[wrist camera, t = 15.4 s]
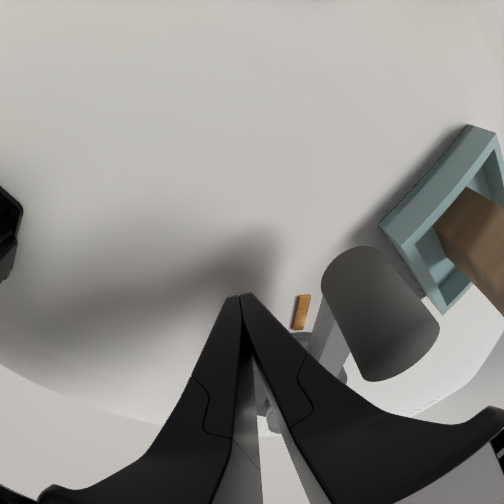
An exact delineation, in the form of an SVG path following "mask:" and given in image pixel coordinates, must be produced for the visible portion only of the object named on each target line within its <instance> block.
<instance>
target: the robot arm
mask: <svg viewBox="0 0 504 504" xmlns="http://www.w3.org/2000/svg"><path fill="white" fill-rule="evenodd" d="M15 210H16V211H17V213H16V211H15ZM22 216H23V207H22V205H21V204H20V203H19V202H18V201H17V200H16V199H14V198H13V197H12V196H11V195H10V194H9V193H8V192H6V191H5V190H4V189H3V188H2V187H1V186H0V283H1V282H2V281H3V280H5V279H6V278H7V277H8V276H9V273H10V271H11V270H12V267H13V262H14V257H15V253H16V248H17V244H18V243H17V234H18V230H19V226H20V223H21V219H22ZM252 355H253V357H252ZM253 358H254V361H255V364H256V367H257V370H258V373H259V375H260V378H261V381H262V384H263V386H264V389H265V392H266V394H267V397H268V400H269V402H270V405H271V408H272V410H273V413H274V416H275V418H276V421H277V423H278V426H279V429H280V431H281V434H282V436H283V438H284V441H285V444H286V446H287V449H288V451H289V454H290V456H291V459H292V461H293V464H294V466H295V469H296V471H297V473H298V476H299V478H300V481H301V483H302V485H303V488H304V490H305V492H306V495H307V497H308V499H309V501H310V504H504V410H503V409H500V408H497V407H493V406H488V407H486V408H485V409H483V410H482V411H481V412H479V413H478V414H477V415H475V416H474V417H473V418H471V419H470V420H468V421H466V422H464V423H460V424H454V425H447V424H439V423H434V422H428V421H423V420H418V419H413V418H408V417H403V416H399V415H395V414H391V413H388V412H386V411H383V410H381V409H379V408H378V407H376V406H374V405H373V404H371V403H370V402H369V401H367V400H366V399H364V398H363V397H362V396H360V395H359V394H357V393H356V392H355V391H353V390H352V389H351V388H349V387H348V386H347V385H345V384H344V383H342V382H341V381H340V380H339V379H337V378H336V377H335V376H334V375H332V374H331V373H330V372H329V371H328V370H327V369H325V368H324V367H323V366H322V365H321V364H320V363H319V362H318V361H317V360H316V359H315V358H314V357H313V356H312V355H311V354H310V353H308V351H307V350H306V349H305V348H304V347H303V346H302V345H301V344H300V343H299V342H298V341H297V340H296V339H295V338H294V336H293V335H292V334H291V333H290V332H289V331H288V330H287V329H286V328H285V327H284V326H283V325H282V324H281V323H280V322H279V321H278V320H277V319H276V318H275V317H274V315H273V314H272V313H271V312H270V311H269V310H268V309H267V308H266V307H265V306H264V305H263V304H262V303H261V302H260V301H259V300H258V298H257V297H256V296H255V295H254V294H253V293H251V292H249V293H245V294H241V295H240V297H239V296H238V295H235V296H230V297H227V298H226V300H225V302H224V304H223V306H222V308H221V311H220V313H219V315H218V317H217V319H216V322H215V324H214V326H213V328H212V330H211V333H210V335H209V337H208V339H207V341H206V343H205V346H204V348H203V350H202V352H201V354H200V357H199V359H198V361H197V363H196V365H195V368H194V370H193V372H192V374H191V376H192V377H190V378H189V381H188V383H187V385H186V387H185V389H184V391H183V393H182V395H181V397H180V399H179V401H178V403H177V405H176V406H175V408H174V410H173V411H172V413H171V415H170V416H169V418H168V419H167V421H166V423H165V424H164V426H163V427H162V429H161V431H160V432H159V434H158V436H157V437H156V439H155V440H154V442H153V443H152V445H151V446H150V448H149V449H148V450H147V451H146V453H145V454H144V455H143V456H141V457H140V458H139V459H138V460H136V461H135V462H133V463H132V464H130V465H128V466H127V467H125V468H123V469H122V470H120V471H118V472H116V473H115V474H113V475H111V476H109V477H107V478H106V479H104V480H102V481H100V482H98V483H96V484H94V485H92V486H90V487H88V488H84V489H80V490H72V489H68V488H65V487H62V486H59V485H55V484H52V485H51V486H49V487H48V488H46V489H45V490H44V491H42V492H41V494H40V495H39V496H38V498H37V501H36V500H34V499H31V498H29V497H26V496H24V495H22V494H20V493H17V492H15V491H13V490H11V489H9V488H7V487H5V486H3V485H1V484H0V504H263V496H262V484H261V472H260V471H261V470H260V456H259V443H258V428H257V414H256V399H255V384H254V369H253Z"/></svg>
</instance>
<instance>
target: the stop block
mask: <svg viewBox="0 0 504 504" xmlns="http://www.w3.org/2000/svg"><path fill="white" fill-rule="evenodd" d="M432 226H433V228H434V230H435V232H436V234H437V236H438V239H439V241H440V243H441V245H442V248H443V250H444V252H445V254H446V257H447V258H448V259H449V260H450V261H451V262H452V263H453V264H454V265H455V266H456V267H457V268H458V269H459V270H460V271H461V272H462V273H463V274H464V275H465V276H466V277H467V278H468V279H469V280H470V281H471V282H472V283H473V284H474V285H475V286H476V287H477V288H478V289H479V290H480V291H481V292H482V293H483V294H484V295H485V296H486V297H487V298H488V300H489V301H490V302H491V303H492V304H493V305H494V306H495V307H496V309H497V310H498V311H499V312H500V313H501V314H502V316H503V317H504V209H503V208H502V207H500V206H499V205H497V204H495V203H494V202H492V201H491V200H489V199H487V198H486V197H484V196H482V195H481V194H479V193H477V192H476V191H474V190H472V189H470V188H469V187H467V186H466V187H465V188H464V189H463V191H462V192H461V193H460V194H459V195H458V197H457V198H456V199H455V200H454V201H453V203H452V204H451V205H450V206H449V207H448V208H447V210H446V211H445V212H444V213H443V214H442V215H441V216H440V218H439V219H438V220H437V221H436V222H435V223H434V224H433V225H432Z"/></svg>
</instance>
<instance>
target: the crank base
mask: <svg viewBox="0 0 504 504" xmlns="http://www.w3.org/2000/svg"><path fill="white" fill-rule="evenodd" d="M310 299H311V296H310V295H301V296H299V301H298V306H297V311H296V315H295V320H294V325H293V331H294V330H303V328H304V324H305V320H306V316H307V312H308V308H309V303H310ZM291 334H292V335H293V336H294V338H295V339H296V340H297V341H298V342H299V343H300V344H301V345H302V346H303V347H304V348H305V349H306V350H307V347H308V343H309V340H310V337H311V334H312V333H307V332H302V333H291ZM252 357H253V355H252ZM253 369H254V384H255V399H256V414H257V415H259V416H265V417H266V412H265V407H264V402H265V400H266V399H267V398H268V397H267V394H266V392H265V389H264V386H263V384H262V381H261V378H260V375H259V373H258V370H257V367H256V364H255V361H254V358H253ZM337 379H339V380H340V381H341V382H342V383H344V384H345V385H346V382H347V375H346V372H345V370H344V367H343V366H342V368H341V370H340V372H339V374H338V376H337Z"/></svg>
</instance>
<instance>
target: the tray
mask: <svg viewBox="0 0 504 504" xmlns="http://www.w3.org/2000/svg"><path fill="white" fill-rule="evenodd" d="M466 186H467V187H469V188H470V189H472V190H474V191H476V192H477V193H479V194H481V195H482V196H484V197H486V198H487V199H489V200H491V201H492V202H494V203H495V204H497V205H499V206H500V207H502V208H503V209H504V161H503V157H502V153H501V149H500V146H499V142H498V139H497V135H496V133H494V132H491V131H488V130H485V129H482V128H479V127H476V126H473V125H469V124H468V126H467V127H466V128H465V129H464V131H463V132H462V133H461V134H460V135H459V137H458V138H457V139H456V140H455V142H454V143H453V144H452V145H451V146H450V148H449V149H448V150H447V151H446V152H445V153H444V155H443V156H442V157H441V158H440V159H439V160H438V161H437V163H436V164H435V165H434V166H433V167H432V168H431V169H430V170H429V172H428V173H427V174H426V175H425V176H424V177H423V178H422V179H421V180H420V182H419V183H418V184H417V185H416V186H415V187H414V188H413V189H412V190H411V191H410V192H409V193H408V194H407V195H406V197H405V198H404V199H403V200H402V201H401V202H400V203H399V204H398V205H397V206H396V207H395V208H394V209H393V210H392V211H391V212H390V213H389V214H388V215H387V216H386V217H385V218H384V219H383V220H382V221H381V222H380V223H379V224H378V225H379V227H380V228H381V229H382V231H383V232H384V233H385V235H386V236H387V237H388V239H389V240H390V242H391V243H392V244H393V246H394V247H395V249H396V250H397V251H398V253H399V254H400V256H401V257H402V259H403V260H404V261H405V263H406V264H407V266H408V267H409V269H410V270H411V272H412V273H413V275H414V277H415V278H416V280H417V281H418V283H419V284H420V286H421V288H422V289H423V291H424V292H425V294H426V296H427V297H428V298H429V299H430V301H431V302H432V303H433V304H434V306H435V307H436V308H437V309H438V311H439V312H440V313H441V314H442V316H443V315H444V314H445V313H446V312H447V311H448V310H449V309H450V308H451V307H452V306H453V305H454V304H455V303H456V302H457V301H458V300H459V299H460V298H461V297H462V296H463V295H464V294H465V292H466V291H467V290H468V289H469V288H470V287H471V286H472V285H473V283H472V282H471V281H470V280H469V279H468V278H467V277H466V276H465V275H464V274H463V273H462V272H461V271H460V270H459V269H458V268H457V267H456V266H455V265H454V264H453V263H452V262H451V261H450V260H449V259H448V258H447V257H446V254H445V252H444V250H443V248H442V245H441V243H440V241H439V239H438V236H437V234H436V232H435V230H434V228H433V226H432V225H433V224H434V223H435V222H436V221H437V220H438V219H439V218H440V216H441V215H442V214H443V213H444V212H445V211H446V210H447V208H448V207H449V206H450V205H451V204H452V203H453V201H454V200H455V199H456V198H457V197H458V195H459V194H460V193H461V192H462V191H463V189H464V188H465V187H466Z"/></svg>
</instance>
